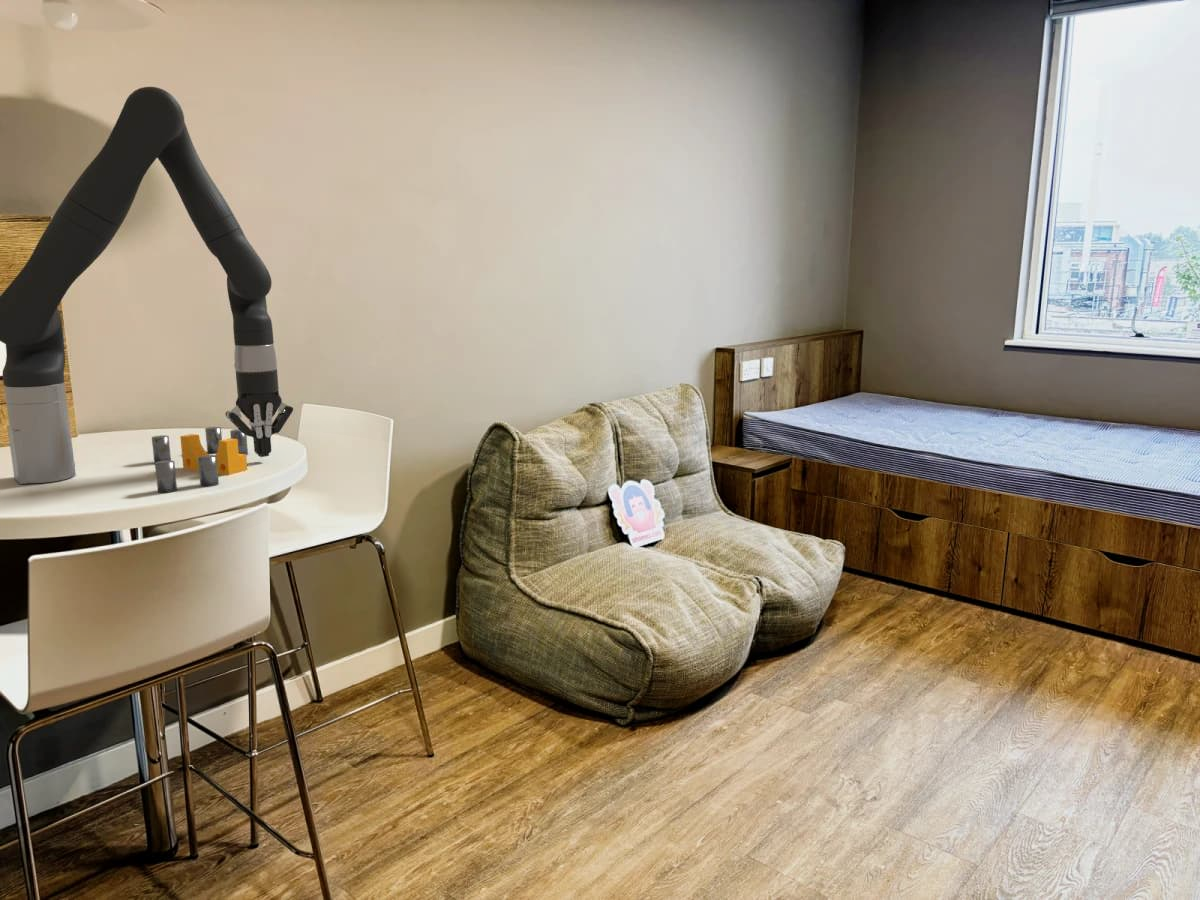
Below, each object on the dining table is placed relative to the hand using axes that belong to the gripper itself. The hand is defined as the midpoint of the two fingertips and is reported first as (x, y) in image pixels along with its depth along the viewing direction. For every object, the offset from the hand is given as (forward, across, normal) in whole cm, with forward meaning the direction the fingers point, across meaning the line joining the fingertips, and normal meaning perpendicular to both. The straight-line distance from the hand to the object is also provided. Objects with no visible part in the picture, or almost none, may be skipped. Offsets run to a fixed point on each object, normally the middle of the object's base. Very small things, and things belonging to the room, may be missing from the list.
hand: (263, 455), depth 177 cm
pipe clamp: (+2, -9, 0) cm, 10 cm away
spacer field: (+1, -11, +2) cm, 11 cm away
